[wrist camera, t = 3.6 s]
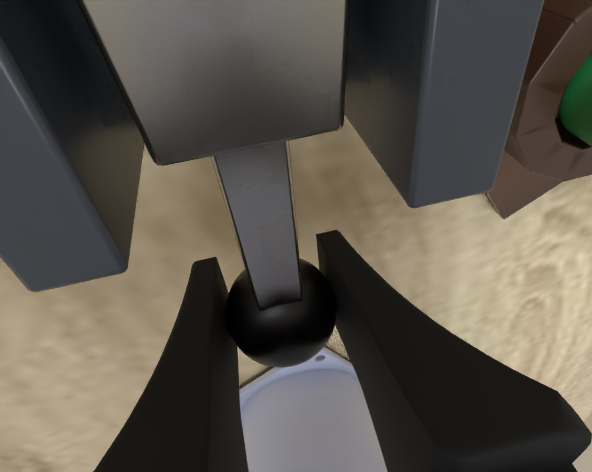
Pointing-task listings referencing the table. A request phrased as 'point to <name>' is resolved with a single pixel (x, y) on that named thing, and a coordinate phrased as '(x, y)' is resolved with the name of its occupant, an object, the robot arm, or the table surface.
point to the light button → (579, 103)
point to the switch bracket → (129, 144)
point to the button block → (545, 111)
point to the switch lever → (240, 134)
